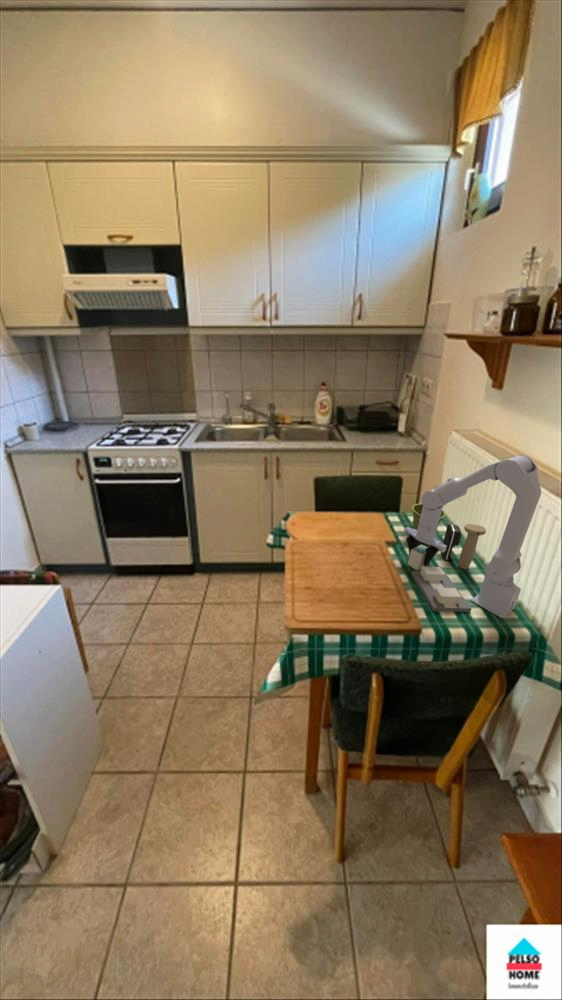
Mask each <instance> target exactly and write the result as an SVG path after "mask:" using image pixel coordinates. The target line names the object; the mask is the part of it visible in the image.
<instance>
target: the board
mask: <svg viewBox="0 0 562 1000" xmlns="http://www.w3.org/2000/svg"><path fill="white" fill-rule="evenodd" d="M411 576H412V577H413V580H414V581H415V583H416V584H417V586H418V587H419V590H420V591H421V593H422V594H423V596H424V597H425V600H426V601H427V603H428V604H429V606H430V608H431V609H432V611H433V612H457V613H459V612H460V613H461V612H462V613H471V612H472V607H471V606H470V604H469V603H468V602H467V600H466V599H465V597H464V596H463V594H462V593H461V591H459V589H458V588H457V586H456V585H455V583H454V582H453V581H452V579H451V578H450V577H449V576H448V574H447V572H446V571H443V569H442V567H440V566H426V567H424V566H422V567H421V569H420V570H418V571H417V570H412V571H411Z"/></svg>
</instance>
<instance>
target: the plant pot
mask: <svg viewBox="0 0 562 1000" xmlns="http://www.w3.org/2000/svg"><path fill="white" fill-rule="evenodd" d="M422 508H423V504H422V503H416V504H414V505H412V507H411V510H412V516H413V517H412V529H415V530H417V529H418V525H419V520H420V516H421V512H422ZM445 517H446V512H445V511H444V510H443V509H442V512H441V516H440V519H439V523H438V526H439V525H440V523H441V522H442V520H443V518H445Z"/></svg>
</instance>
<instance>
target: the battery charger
mask: <svg viewBox="0 0 562 1000" xmlns="http://www.w3.org/2000/svg"><path fill="white" fill-rule="evenodd" d="M444 534H445V535H444V538H443V541H442V543H443V544H444V545H446V546H447V547H446V551H444V552H441V555H442V559H444V560H445V561H453V558H454V556H453V553H452V550H453V548H455V546H460V543H461V539H462V531H461V529H460V526H459V525H457V524H452V523H449V524H447V527H446V531H445V533H444Z"/></svg>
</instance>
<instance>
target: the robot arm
mask: <svg viewBox="0 0 562 1000" xmlns="http://www.w3.org/2000/svg"><path fill="white" fill-rule="evenodd" d="M538 469H539V467H538V466H537V464H536V463H535V462H534V460H533V459H532V458H531V457H530V456H528V455H525V454H518V455H514V456H513V457H511V458H506V459H503V460H500V461H496V462H493V463H491V464H488V465H486V466H484V467H482V468H481V469H479V470H476V471H475V472H473V473H471V474H469V475H468V476H465V477H464V478H460V477H449V478H447V479H446V481H447V482H445V483H442V484H437V485H435V486H434V489H430V490H426V492H424V493H423V494H422V496H421V504H423V508H422V512H421V516H420V520H419V525H418V529H417V530H415V529H413V527H409V526H407V527H404V530H403V534H404V535H407V537H406V538H405V539H406V540H405V541H406V544H407V548H408V555H409V556H408V557H410V553H411V549H413V548H416V547H418V546H419V543H424V544H426V545H428V546H427V548H426V557H425V561H424V566H426V567H428V566H429V565H430V563H431V561H433V560H432V559H433V558H434V556H436V555H437V554H438V552H440V553H442V552H444V551H446V547H447V546H446V545H444V544H443V542H442V541H440V540H439V539H438V538H436V533H437V529H438V527H439V525H438V523H439V519H440V516H441V512H442V510H443V507H444V506H446V505H448V504H449V503H451V502H453V501H455V500H457V499H459V498H461V497H464V496H465V495H467V493H468V490H469V488H472V487H474V486H476V485H479V484H481V483H483V482H485V481H487V480H491V481H500V482H501V483H502V484H504V486H506V487H508V488H509V489H510V490H511V491H512V492H513V494H514V496H515V501H514V503H513V505H512V508H511V511H510V514H509V517H508V520H507V522H506V527H505V529H504V531H503V535H502V537H501V540H500V543H499V545H498V549H497V550H496V551H495V552H494V554H493V555H492V558H491V560H490V562H488V563H487V564H486V565H485V566H484V577H483V581H482V584H481V586H480V590H479V592H478V594H477V595H476V596H475V597H473V598H472V599H471V602H473V603H474V604H476V605H478V606H480V607H482V608H483V609H485V610H487V611H488V612H491V614H494V615H495V616H498V617H499V618H501V619H504V618H505V617H507V616H508V615H509V614H510V613H511V612H513V611H514V610H516V609H515V607H516V604H517V602H518V600H519V596H520V594H521V587H519V586H518V585H516V584H515V582H514V575H515V574H517V573H519V571H521V568H522V562H521V557H522V552H521V549H522V546H523V544H524V541H525V538H526V535H527V533H528V530H529V528H530V524H531V522H532V520H533V517H534V514H535V512H536V509H537V506H538V504H539V502H540V501H539V500H540V498H541V496H542V488H541V484H540V480H539V476H538ZM439 524H440V523H439ZM427 565H428V566H427ZM513 609H514V610H513ZM512 610H513V611H512Z"/></svg>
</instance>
